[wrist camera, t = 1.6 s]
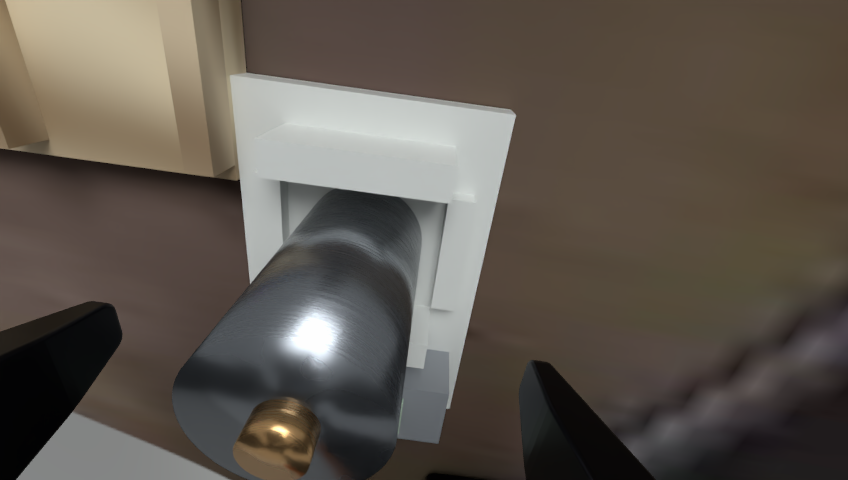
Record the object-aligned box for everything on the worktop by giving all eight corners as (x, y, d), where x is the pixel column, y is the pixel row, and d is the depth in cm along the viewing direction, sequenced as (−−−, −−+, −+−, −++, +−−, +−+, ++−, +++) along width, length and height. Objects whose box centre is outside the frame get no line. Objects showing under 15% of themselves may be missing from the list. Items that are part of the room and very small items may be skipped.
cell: (414, 292, 14) (383, 538, 7) (308, 278, 14) (170, 511, 7) (429, 192, 12) (405, 387, 5) (306, 175, 12) (119, 350, 5)
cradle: (449, 389, 17) (449, 459, 14) (269, 366, 17) (234, 431, 14) (510, 109, 12) (531, 130, 9) (246, 72, 12) (181, 82, 9)
